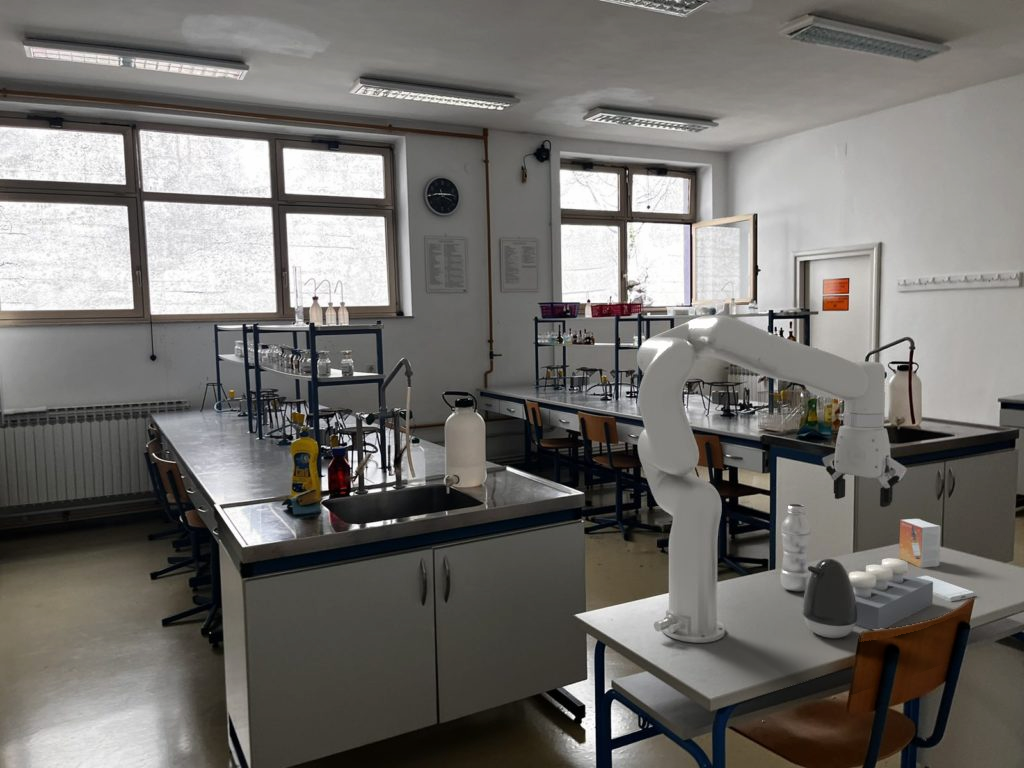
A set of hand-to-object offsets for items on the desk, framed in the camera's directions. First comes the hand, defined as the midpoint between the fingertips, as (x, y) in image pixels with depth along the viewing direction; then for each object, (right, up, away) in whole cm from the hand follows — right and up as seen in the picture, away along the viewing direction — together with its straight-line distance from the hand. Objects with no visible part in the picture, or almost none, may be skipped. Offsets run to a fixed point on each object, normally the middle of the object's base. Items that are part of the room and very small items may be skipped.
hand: (862, 501), depth 159 cm
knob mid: (+6, -21, +5) cm, 22 cm away
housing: (+6, -24, +5) cm, 25 cm away
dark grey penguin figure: (-10, -26, -7) cm, 28 cm away
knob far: (+11, -20, +9) cm, 25 cm away
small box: (+31, -22, +36) cm, 52 cm away
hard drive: (+25, -24, +16) cm, 38 cm away
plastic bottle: (-7, -24, +18) cm, 30 cm away
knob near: (0, -21, +1) cm, 21 cm away
